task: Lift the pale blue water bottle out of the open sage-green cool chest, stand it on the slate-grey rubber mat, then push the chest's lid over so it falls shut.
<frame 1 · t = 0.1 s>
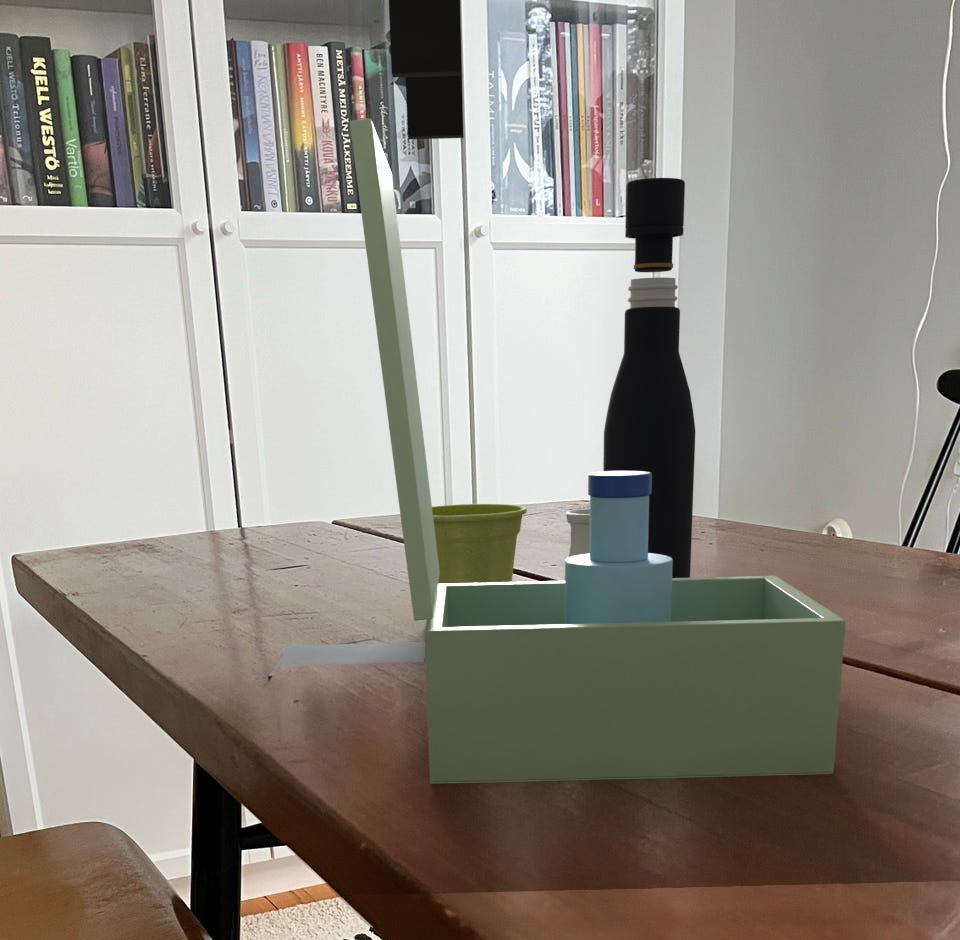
hand: (431, 110, 55), 29 cm above the table, tool pointing down, fingers open, 13 cm apart
black bottle: (644, 638, 94), on the table
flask: (588, 668, 84), on the table
water bottle: (615, 738, 64), point 1 cm above the table, touching cool chest
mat: (352, 665, 86), on the table
lid: (402, 385, 58), point 18 cm above the table, hinge at 95.0°
plant pot: (469, 622, 101), on the table
cool chest: (615, 753, 65), on the table
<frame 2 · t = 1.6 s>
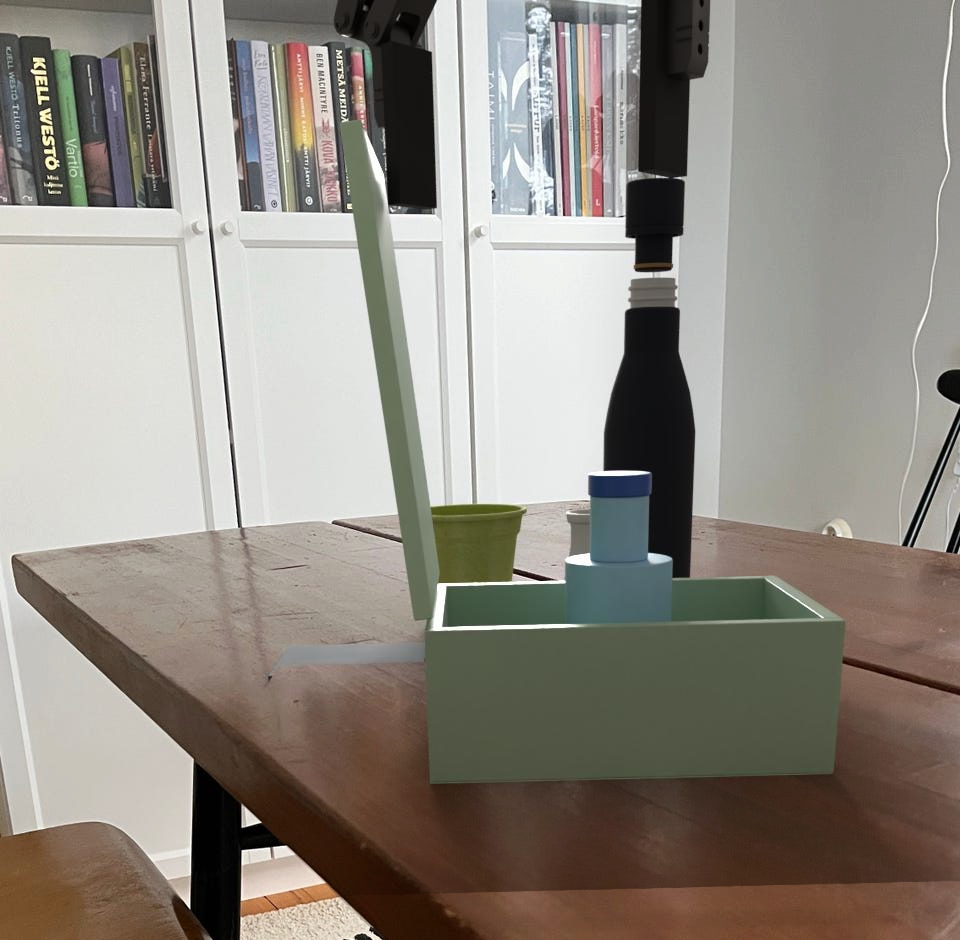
hand: (529, 192, 56), 26 cm above the table, tool pointing down, fingers open, 13 cm apart
lid: (397, 385, 58), point 18 cm above the table, hinge at 96.2°
everything else where it was.
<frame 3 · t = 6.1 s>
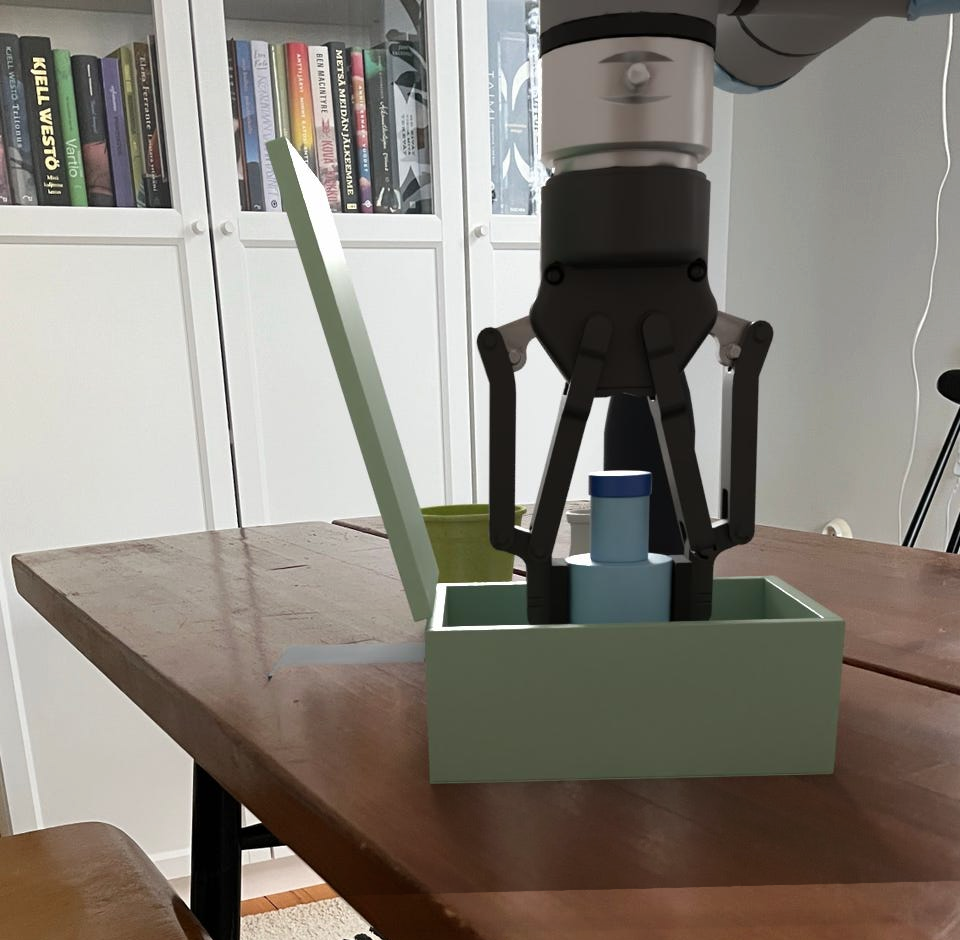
hand: (616, 690, 63), 3 cm above the table, tool pointing down, fingers closed on water bottle, 5 cm apart
water bottle: (616, 738, 64), point 1 cm above the table, touching cool chest, gripper
lid: (366, 392, 58), point 18 cm above the table, hinge at 105.1°
everything else where it was.
when the fingers open (3 cm above the table, at t = 14.8 s): water bottle stays where it is, resting on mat.
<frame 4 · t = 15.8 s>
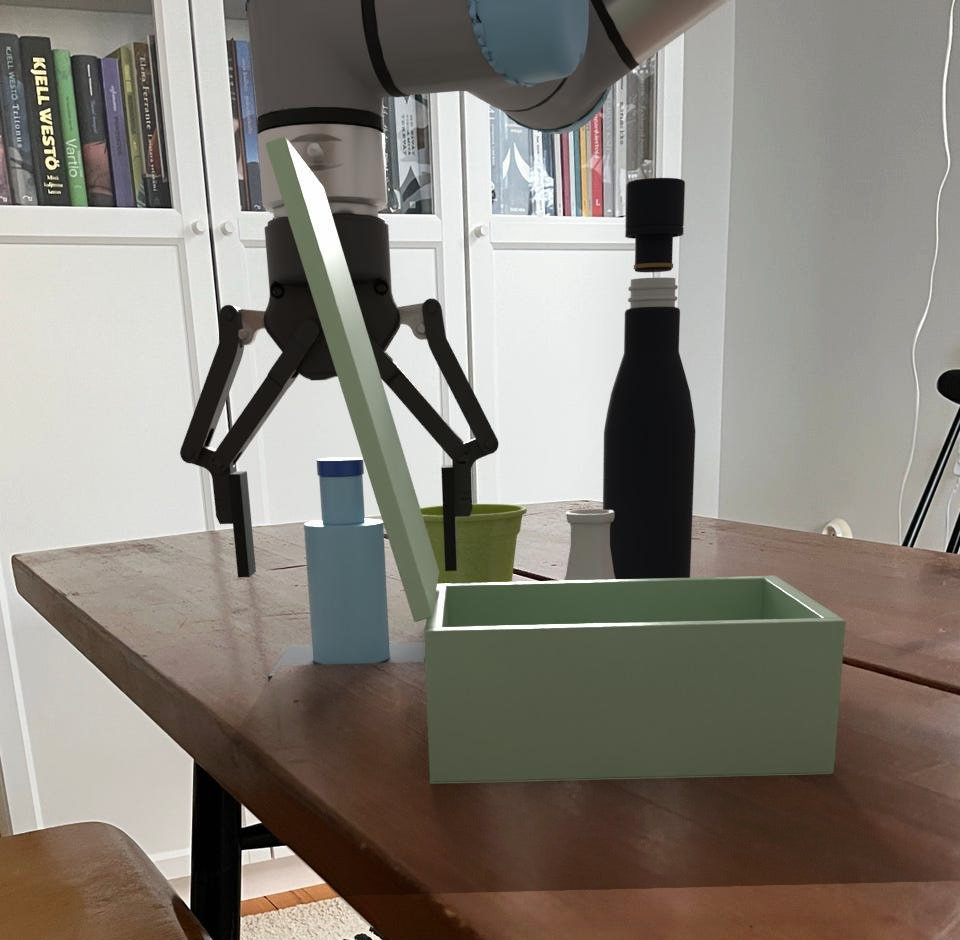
hand: (349, 572, 84), 6 cm above the table, tool pointing down, fingers open, 13 cm apart
water bottle: (351, 658, 86), resting on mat
everything else where it was.
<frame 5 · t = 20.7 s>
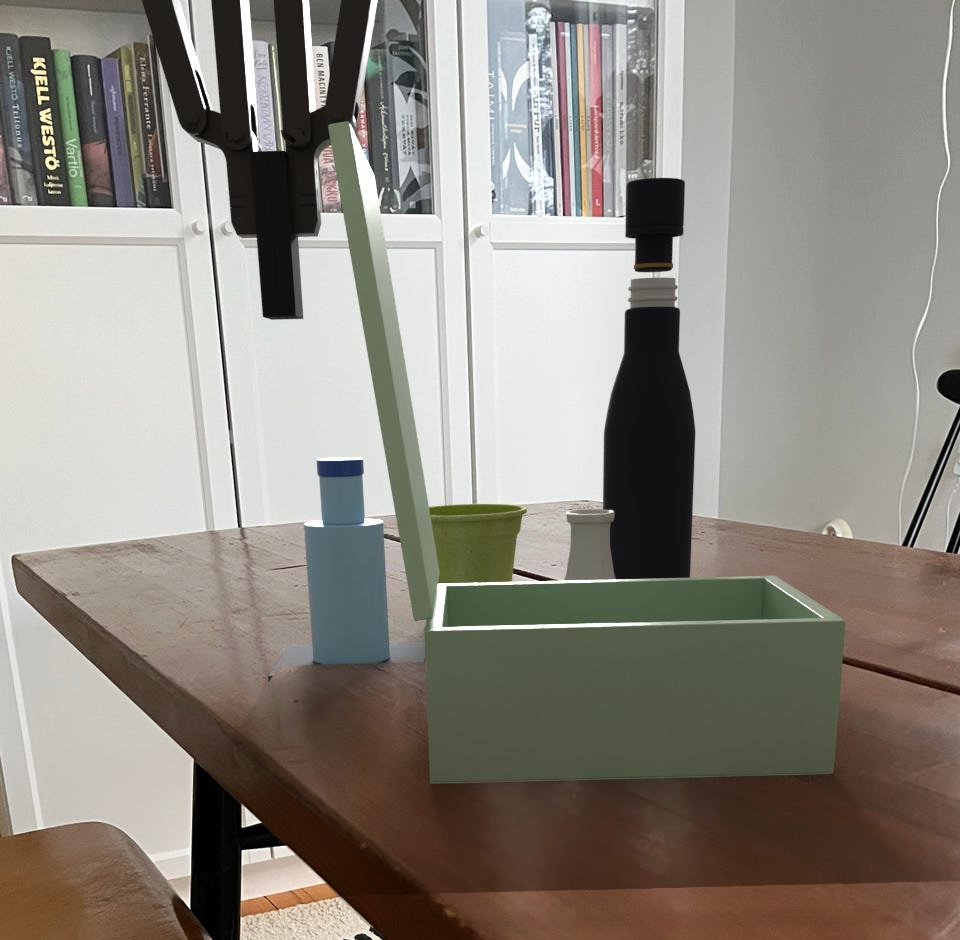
hand: (283, 317, 57), 21 cm above the table, tool pointing down, fingers closed
lid: (393, 386, 58), point 18 cm above the table, hinge at 97.5°
everything else where it was.
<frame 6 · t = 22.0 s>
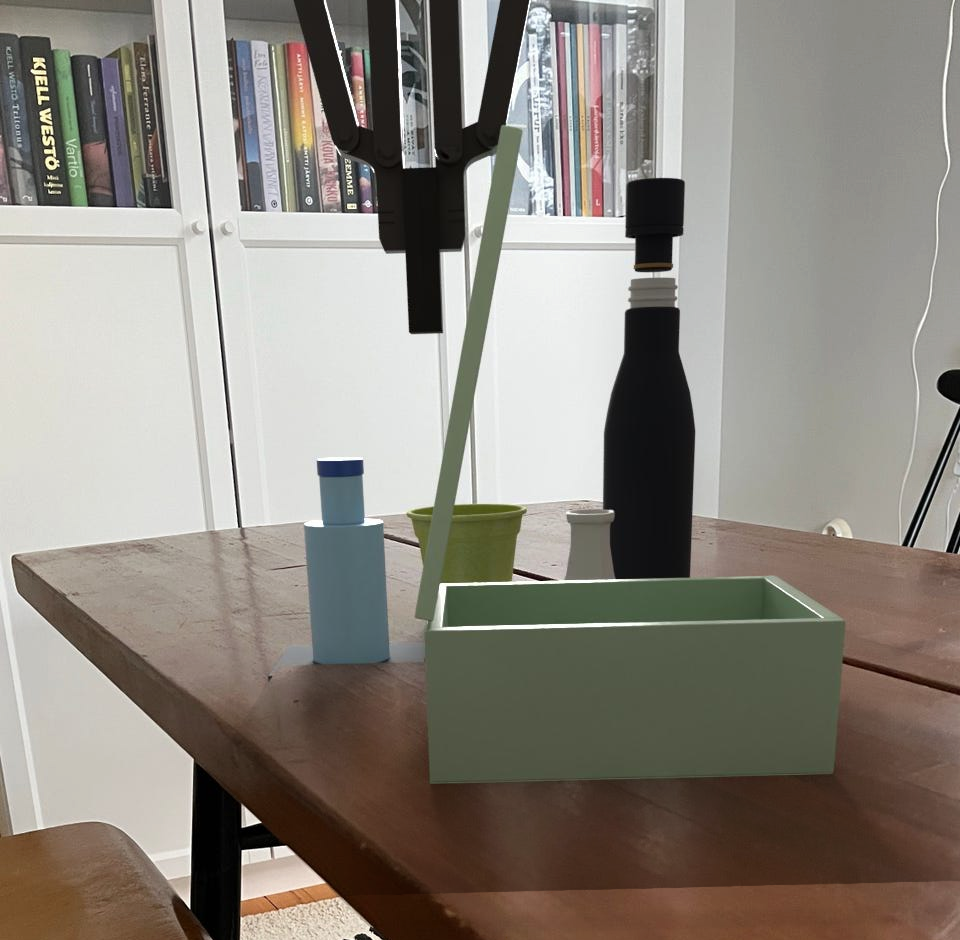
hand: (426, 332, 58), 20 cm above the table, tool pointing down, fingers closed
lid: (465, 388, 58), point 18 cm above the table, hinge at 77.6°, touching gripper
everything else where it was.
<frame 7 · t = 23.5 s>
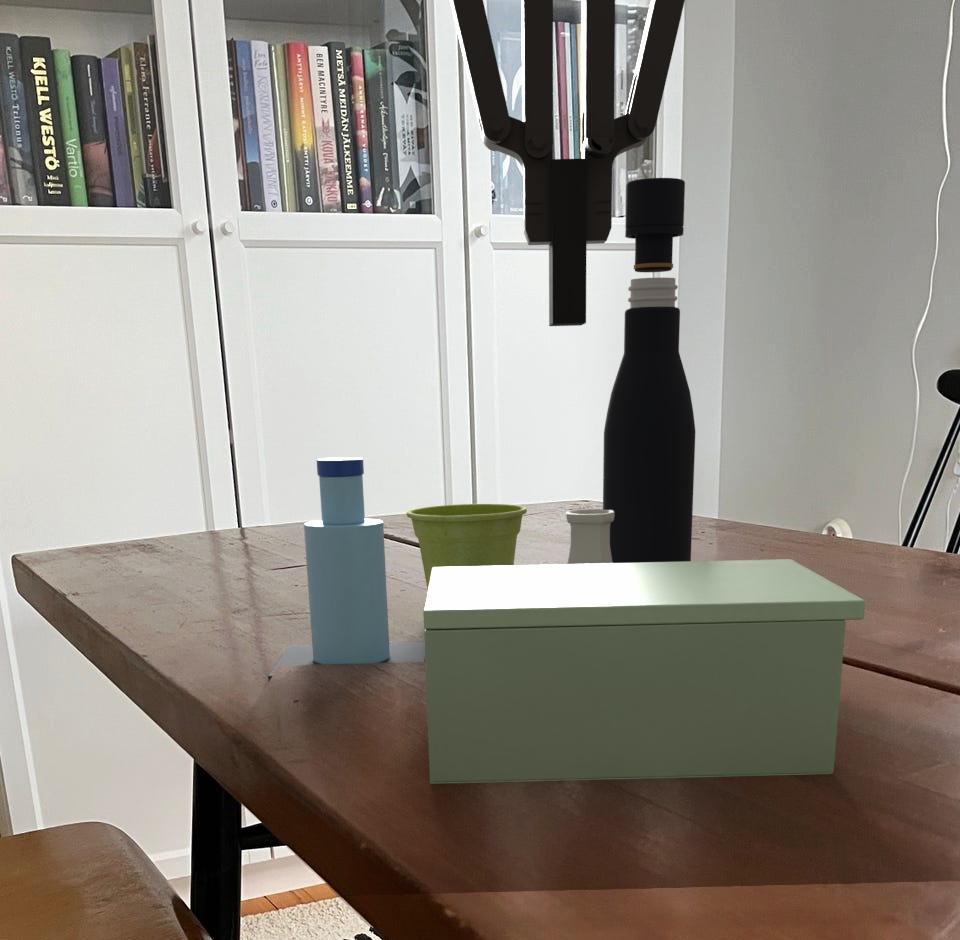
hand: (567, 324, 57), 20 cm above the table, tool pointing down, fingers closed
lid: (626, 590, 62), point 8 cm above the table, hinge at -0.1°
everything else where it was.
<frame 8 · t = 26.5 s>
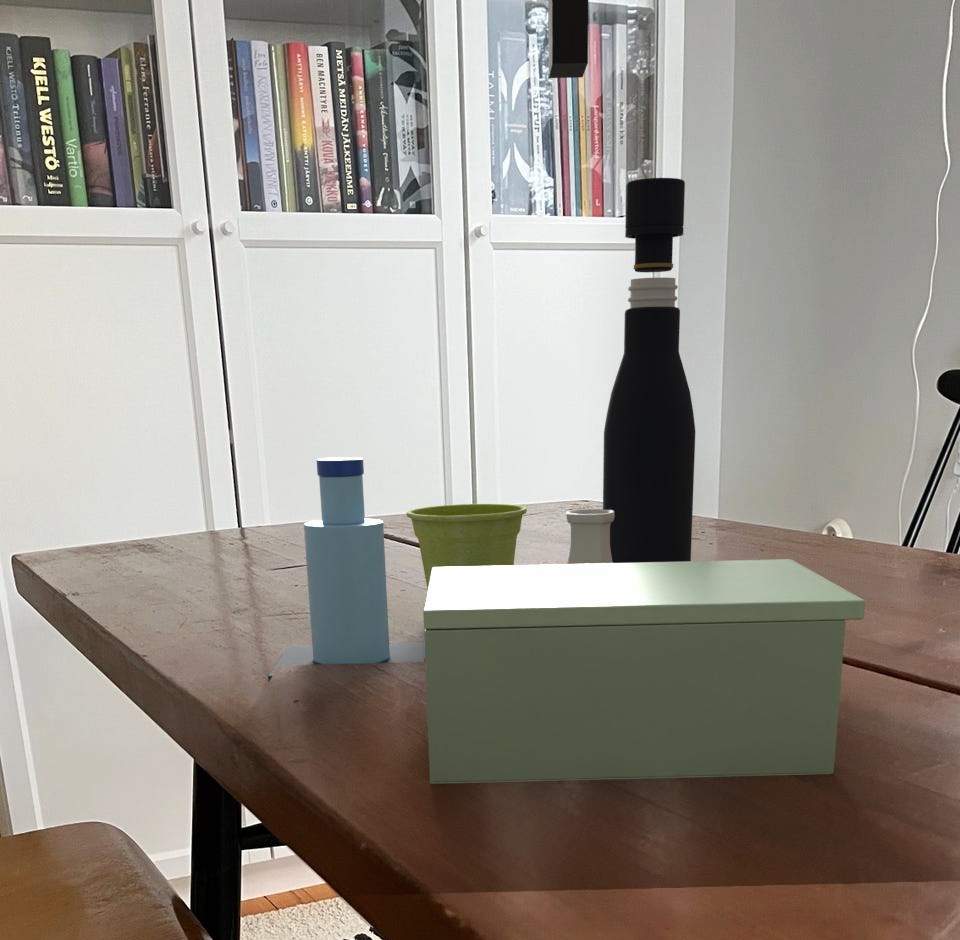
hand: (567, 70, 54), 30 cm above the table, tool pointing down, fingers closed
nothing on the table moved.
at the end: water bottle inside the target area on the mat (0.0 cm from its centre), point 0.5 cm above the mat's base; water bottle tilted 0°; lid at +0° (first picture: +95°) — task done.
